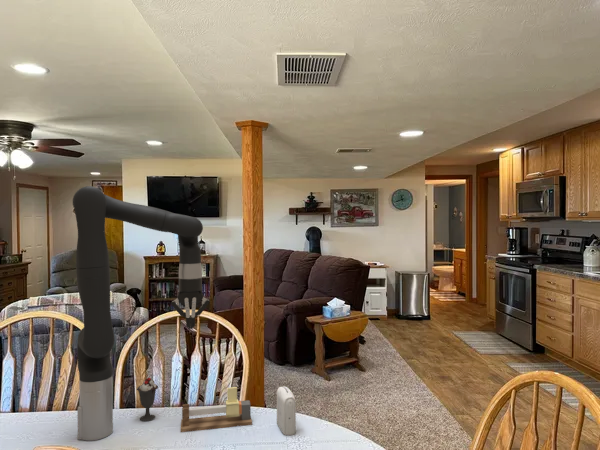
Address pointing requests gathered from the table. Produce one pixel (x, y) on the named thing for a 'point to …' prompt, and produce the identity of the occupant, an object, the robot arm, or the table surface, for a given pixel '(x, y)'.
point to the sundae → (147, 397)
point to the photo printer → (286, 411)
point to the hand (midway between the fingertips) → (190, 328)
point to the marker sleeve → (232, 403)
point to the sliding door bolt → (223, 410)
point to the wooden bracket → (209, 421)
